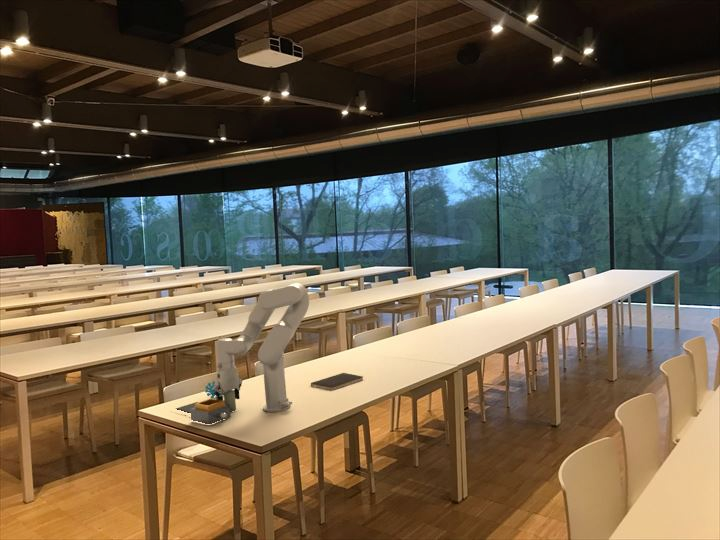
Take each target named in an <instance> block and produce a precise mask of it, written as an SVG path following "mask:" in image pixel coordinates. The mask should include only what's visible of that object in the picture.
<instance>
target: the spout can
mask: <svg viewBox="0 0 720 540" xmlns="http://www.w3.org/2000/svg"><path fill="white" fill-rule="evenodd" d="M234 390H235V389H232V390H229V391H226V392H223V393H224V395H223V400H224V403H225V404H230V413H233V412H232V411H234V412H236V411H237V403H236V399H235V391H234ZM235 410H236V411H235Z"/></svg>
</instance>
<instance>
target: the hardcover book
mask: <svg viewBox="0 0 720 540" xmlns="http://www.w3.org/2000/svg"><path fill="white" fill-rule="evenodd" d="M363 378H364V376H363V375H357V374H352V373H347V372H341V373H339V374H338V373H337V374H335V375H331V376H329V377H326V378H322V379H319V380H316V381H312V382H311V383H310V386H311V387H314V386H316V387H315V388H319V387H320V389H323V388H324V389H323V390H327V389H328V391H333V390H336V389H339V388H342V387H345V386H348V385H351V384H354V383H358V382H361V381H363V380H364V379H363Z"/></svg>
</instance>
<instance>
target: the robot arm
mask: <svg viewBox="0 0 720 540" xmlns="http://www.w3.org/2000/svg"><path fill="white" fill-rule="evenodd" d="M309 296H310V295H309V293H308V290H307V288H306V287H305V286H304V285H303V284H302V283H301V282H300V283H299V282H292V283H290V284H288V285H285V286H281V287H279V288H274V289H272V288H269V289H266V290H264V291H262V292H261V293H260V294H259V295H258V298H257V302H256V303H255V305H254V307H253V308H252V310H251V311H250V313H249V315H248V319H247V320H248V321H247V324H246V326H245V327H244V329H243V330H242V332H241V333H240V335H239V336H238V337H237V338H235V339H233V338H230V337H223V338H219V339H217V340H216V344H215V345H216V357H217V364H216V368H217V370H216V383H215V384H214V385H215V386H214V387H213V388H212V391H213V392H214V394H215V397H216V396H217V399H218V400H224V395H222V394H223V392H226V391H229V390H234V391H235V400H240V390H241V388H242V384H243V379H242V378H240V377H239V372H238V369H237V365H235V363H236V362H235V356H243V355H244V354H246V353H248V351H249V350H250V349H251V348H252V347H253V346H254V344H255V343H256V341H257V339H258V338H259V336H260V335H261V332H262V331H263V330H264V328H265V326H266V325H267V323H268V321H269V320H270V318H271V316H272V315H273V313H274V312H275V310H276V309H280V308H283V307H287V308H286V310H285V312H284V314H283V315H282V317H281V318H280V319H279V320H278V322H277V323H276V324H275V325H274V326H272V328H271V329H270V331H269V333H268V334H267V336H266V338H265V339H264V340H263V343H262V344H261V345H260V348H258V351H257V360H258V361H259V362H260V364H262V367H263V369H262V370H263V380H264V381H263V382H264V395H265V404H264V405H263V406H262V410H263V411H264V412H267V413H268V412H269V413H279V412H282V411H286V410H288V409H290V408H291V406H292V405H293V402H292V401H289V397H287V387H286V376H285V375H286V373H285V349H286V348H287V346H288V345H289V343H290V342H291V340H292V339H293V337H294V335H295V333H296V331H297V329H298V327H299V326H300V324H301V322H302V321H303V319H304V317H305V315H306V314H307V311H309V310H308V309H309V306H310V297H309ZM217 390H218V391H217ZM220 391H221V392H220Z"/></svg>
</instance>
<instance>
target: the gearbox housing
mask: <svg viewBox="0 0 720 540" xmlns="http://www.w3.org/2000/svg"><path fill="white" fill-rule="evenodd" d="M190 412H191V418H190V421H191V420H193V421H198V422H202V423H205V424H212V423H215V422H217V421H220V420H223V419H226V420H228V419H227V418H229V417H231V418H232V416H231V415H232V414H231V412H230V404H225V403H224V399H223V400H218V399H215V398H214V397H213V398H211V397H210V398H208V399H205V400H202V401H199V402H198V403H196V404H195V407H194V408H192V409H190ZM229 419H230V418H229Z"/></svg>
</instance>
